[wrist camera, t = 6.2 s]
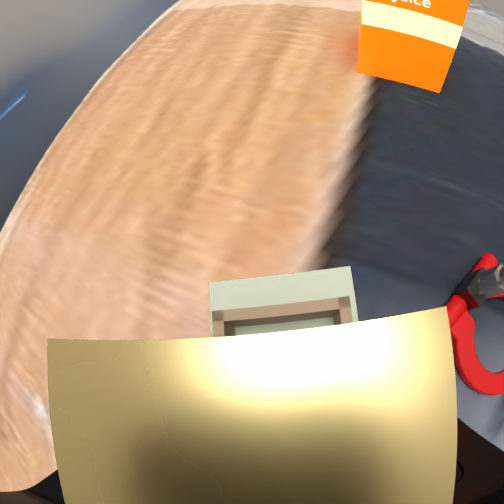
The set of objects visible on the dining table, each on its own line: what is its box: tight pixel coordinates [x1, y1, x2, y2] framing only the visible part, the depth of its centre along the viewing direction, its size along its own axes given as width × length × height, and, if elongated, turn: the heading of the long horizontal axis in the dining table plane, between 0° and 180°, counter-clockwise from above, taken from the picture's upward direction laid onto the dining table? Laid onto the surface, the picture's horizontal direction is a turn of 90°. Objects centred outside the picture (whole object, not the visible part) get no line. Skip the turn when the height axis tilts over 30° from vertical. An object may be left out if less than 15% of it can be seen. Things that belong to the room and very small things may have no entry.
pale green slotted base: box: [209, 266, 358, 337], centre depth 16 cm, size 13×9×4 cm
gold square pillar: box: [47, 306, 457, 504], centre depth 8 cm, size 5×4×12 cm
